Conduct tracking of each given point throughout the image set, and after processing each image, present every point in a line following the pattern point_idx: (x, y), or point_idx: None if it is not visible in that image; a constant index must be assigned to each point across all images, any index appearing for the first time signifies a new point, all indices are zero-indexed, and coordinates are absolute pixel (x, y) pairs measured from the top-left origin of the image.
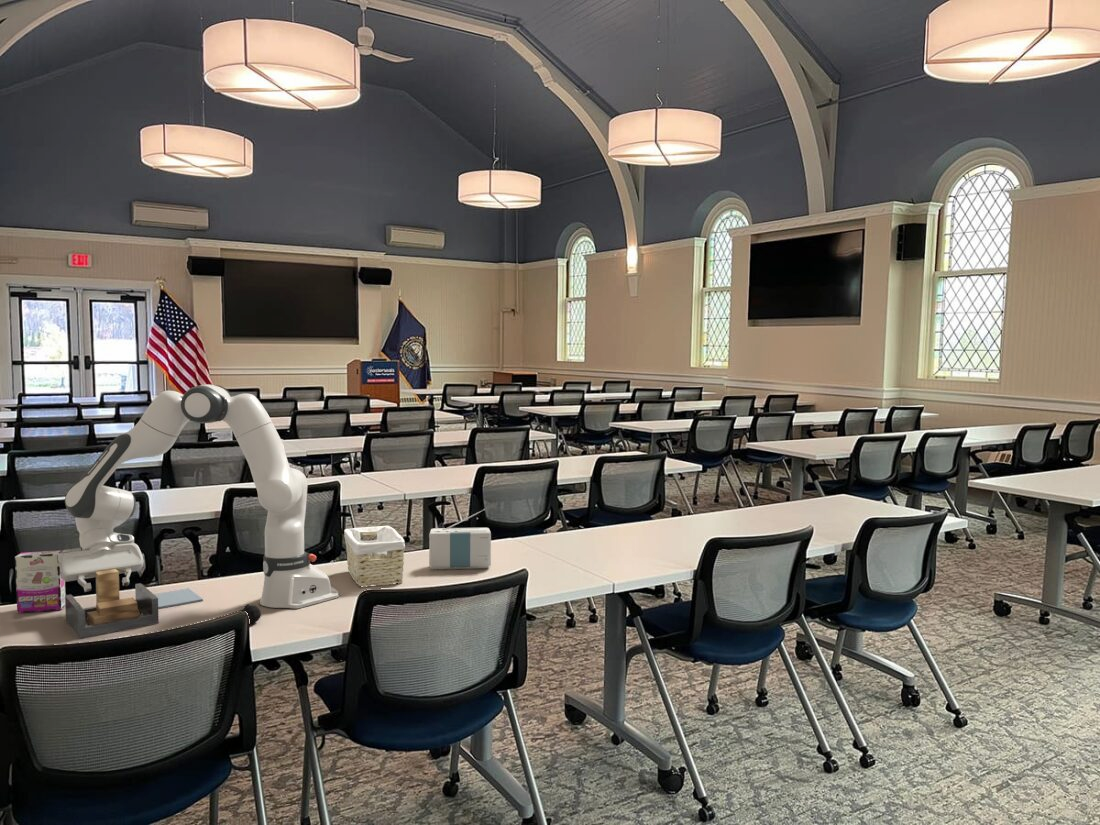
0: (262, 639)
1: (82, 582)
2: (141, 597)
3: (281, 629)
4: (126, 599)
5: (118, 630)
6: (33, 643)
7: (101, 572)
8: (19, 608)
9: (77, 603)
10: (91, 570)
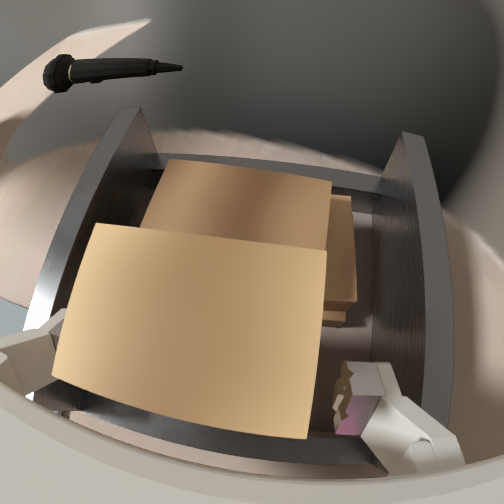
0: (122, 36)
1: (418, 410)
2: None
3: (78, 56)
4: None
5: None
6: (488, 255)
7: (253, 341)
8: None
9: (427, 251)
10: (349, 490)
